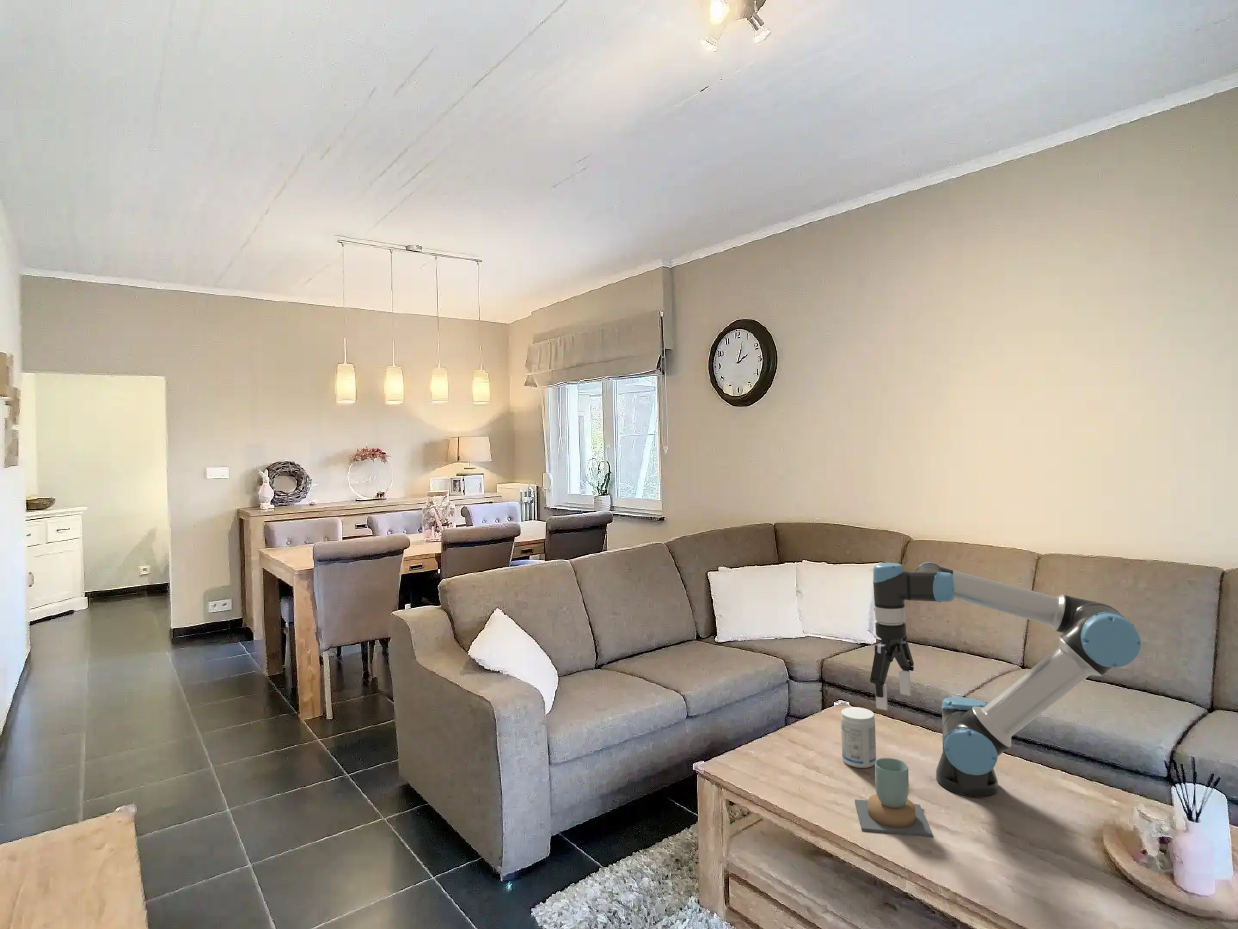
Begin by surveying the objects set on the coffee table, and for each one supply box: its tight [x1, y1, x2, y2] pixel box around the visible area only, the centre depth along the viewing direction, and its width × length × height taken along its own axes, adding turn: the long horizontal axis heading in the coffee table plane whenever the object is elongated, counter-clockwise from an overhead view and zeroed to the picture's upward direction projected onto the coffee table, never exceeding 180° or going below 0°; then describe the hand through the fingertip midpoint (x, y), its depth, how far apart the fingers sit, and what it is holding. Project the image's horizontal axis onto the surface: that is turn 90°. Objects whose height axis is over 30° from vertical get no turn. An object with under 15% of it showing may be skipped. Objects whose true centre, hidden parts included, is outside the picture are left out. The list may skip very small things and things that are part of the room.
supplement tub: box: [840, 706, 877, 769], centre depth 204 cm, size 10×10×15 cm
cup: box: [874, 757, 910, 808], centre depth 172 cm, size 8×8×10 cm
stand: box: [854, 793, 934, 838], centre depth 173 cm, size 16×14×4 cm
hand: (894, 701), depth 184 cm, fingers open, 13 cm apart
